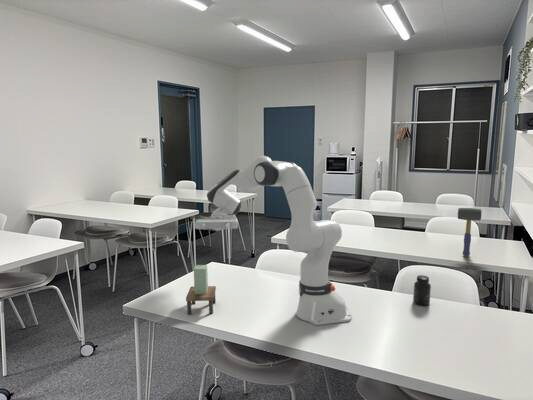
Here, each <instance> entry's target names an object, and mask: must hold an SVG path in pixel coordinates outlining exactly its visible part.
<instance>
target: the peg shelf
mask: <svg viewBox="0 0 533 400" xmlns="http://www.w3.org/2000/svg"><path fill="white" fill-rule="evenodd" d="M216 287H217V286H216V285H214V286H213V285H210V286H209V285H208V291H207V294H195V290H194V286H189V289H188V293H187V294H186V297H185V301H186V309H187V310H186V311H187V315H188V316H189V315H191V314H192V305H195V304H196V302H203V301H204V302H205V301H207V302H208V313H209V314H208V315H213V314H214V305H215V304H216V290H217V288H216Z"/></svg>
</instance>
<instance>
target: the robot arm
mask: <svg viewBox="0 0 533 400" xmlns="http://www.w3.org/2000/svg"><path fill="white" fill-rule="evenodd" d="M232 185H233V186H236V187H239V188H242V189H244V190H246V191H257V190H258V189H260V188H261V187H262V186H263V187H282V188H283V191H284V193H285V194H284V195H285V198H286V200H287V204H288V207H289V210H290V214H291V223H290V226H289V228H288V230H287V232H286V235H285V241H286V245H287V247H288V248H289V249H290V250H291V251H292V252H294V253H307V254H306V255H305V257H304V258H303V259H302V260H301V262H300V269H299V270H300V272H299V273H300V274H299V275H300V279H299V284H298V293H299V299H298V304H297V305H298V306H297V309H296V312H295V315H296V316H297V318H299V319H300V320H303V321H305V322H309V323H311V324H312V325H315V326H318V325H319V326H321V325H322V326H323V325H329V324H338V323H345V322H350V321H351V320H352V315H353V314H352V312H351V310H350V309H349V308H348V307H347V306H346V302H345V299H344V298H343V297H342V296H341V295H340V294H339V293H337V292H336V287H335V285H333V283H332V282H331V281H330V280H329V277H328V276H329V263H330V259H331V257H332V253H333V251H334V249H335V247H336V246H337V244H338V243H339V242H340V240H341V239H342V236H343V232H342V231H343V230H342V228H341V226H340V224H339V223H338V222H337V221H335V220H331V219H321V220H316V221H314V215H313V214H314V211H315V210H316V209H317V207H318V202H317V199H316V197H315V194H314V191H313V188H312V185H311V183H310V180H309V179H308V176H307V175H306V172H305V171H304V170H303V168H301V167H300V166H298V165H297V164H296V163H294V162H292V161H279V160H272V158H271V157H269V156H266V155H260V156H257V157H256V158H255V159H253V161H251V162H250V163H249V164H248V166H246V168H244V169H235V170H233V171H232V172H231V173H229V174H228V175H227V176H225V177H224V178H222V179H221V180H220V181H219V182H218V183H216V184H214V185H212V186H211V187H210V188H209V189H208V191H207V193H206V197H207V201H208V202H210V203H211V204H213V205H214V206H215V207H217V208H216V209H215V210H213V212H212V213H211V215H210V217H209V218H198V219H197V220H195V221H194V228H195V229H196V230H214V231H221V230H230V229H232V230H233V229H235V230H236V229H238V227H239V223H238V222H239V220H238V218H237V215H238V213H240V210H241V208H242V201H241V199H239V198H238V197H236V196H235V195H233V194H232V192H230V191H228V190H227V189H226V188H228V187H229V186H232Z"/></svg>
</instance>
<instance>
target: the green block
mask: <svg viewBox="0 0 533 400" xmlns="http://www.w3.org/2000/svg"><path fill="white" fill-rule="evenodd" d="M208 276H209V275H208V264H195V266H194V268H193V287H194V290H195V294H207V291H208V286H209V281H208V280H209V279H208V278H209V277H208Z"/></svg>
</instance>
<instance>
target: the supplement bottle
mask: <svg viewBox="0 0 533 400" xmlns="http://www.w3.org/2000/svg"><path fill="white" fill-rule="evenodd" d="M431 288H432V285H431V284H430V277H429V276H427V275H424V274H423V275H422V274H421V275H420V274H419V275H417V277H416V281H415V282H414V284H413V293H412V294H413V296H412V297H413V298H412V300H413V301H412V302H413V303H414V304H415V305H417V306H420V305H421V306H420V307H426V306H430V303H431V290H432V289H431Z"/></svg>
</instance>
